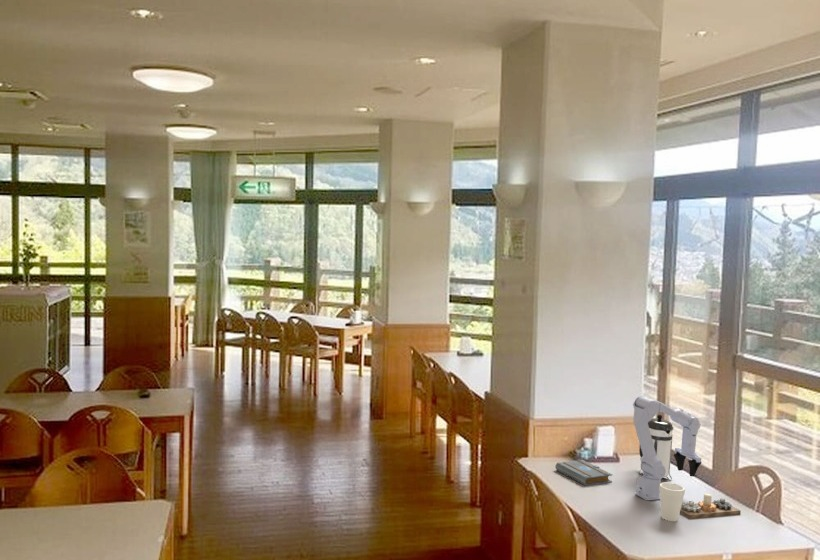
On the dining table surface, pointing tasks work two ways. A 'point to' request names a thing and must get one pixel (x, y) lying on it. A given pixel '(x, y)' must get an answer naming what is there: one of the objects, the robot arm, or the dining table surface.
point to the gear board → (709, 512)
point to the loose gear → (707, 503)
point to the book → (583, 472)
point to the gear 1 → (691, 507)
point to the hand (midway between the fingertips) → (686, 473)
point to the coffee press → (661, 441)
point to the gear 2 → (722, 504)
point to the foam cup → (671, 500)
